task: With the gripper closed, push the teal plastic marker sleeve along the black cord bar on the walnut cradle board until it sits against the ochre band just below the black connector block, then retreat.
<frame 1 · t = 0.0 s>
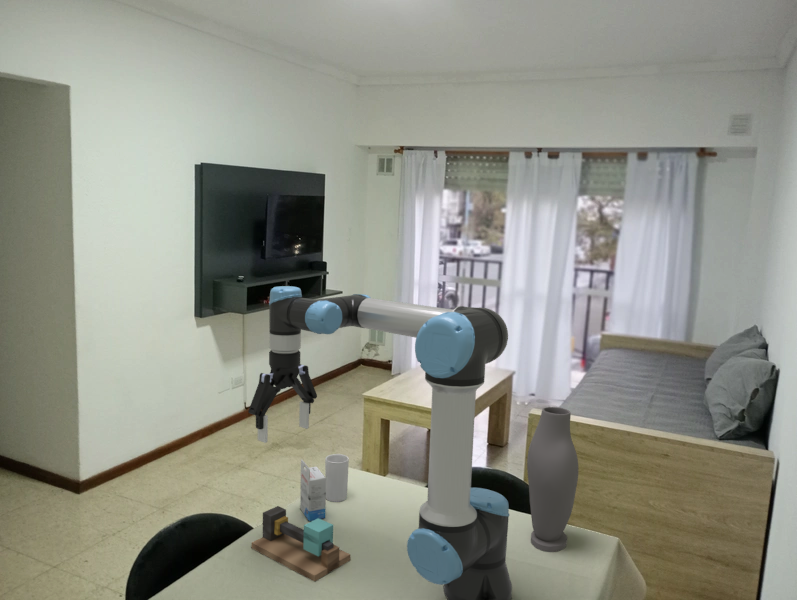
hand: (283, 434, 159), 28 cm above the table, fingers open, 13 cm apart
vase: (547, 541, 168), on the table
sleeve: (318, 536, 152), point 7 cm above the table, slide at 0.0 cm
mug: (337, 495, 190), on the table
ink box: (312, 514, 178), on the table
cradle board: (300, 554, 157), on the table
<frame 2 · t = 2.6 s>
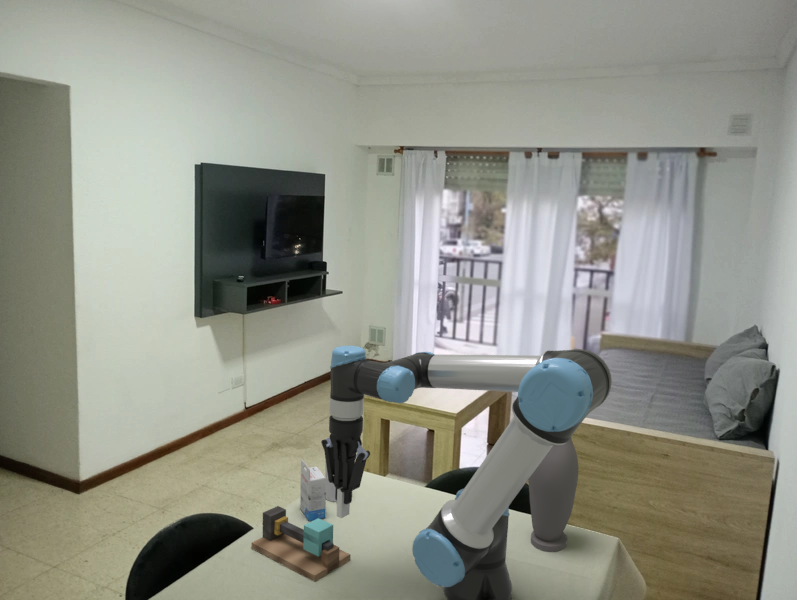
hand: (342, 515, 146), 15 cm above the table, fingers closed
nothing on the table moved.
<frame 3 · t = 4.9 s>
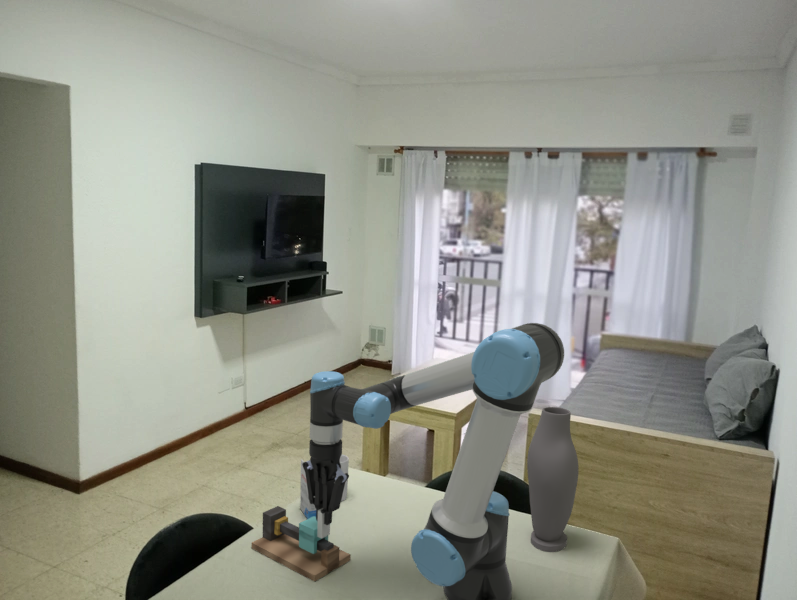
hand: (323, 535, 151), 8 cm above the table, fingers closed
sleeve: (313, 534, 153), point 7 cm above the table, slide at 1.6 cm, touching gripper
everything else where it was.
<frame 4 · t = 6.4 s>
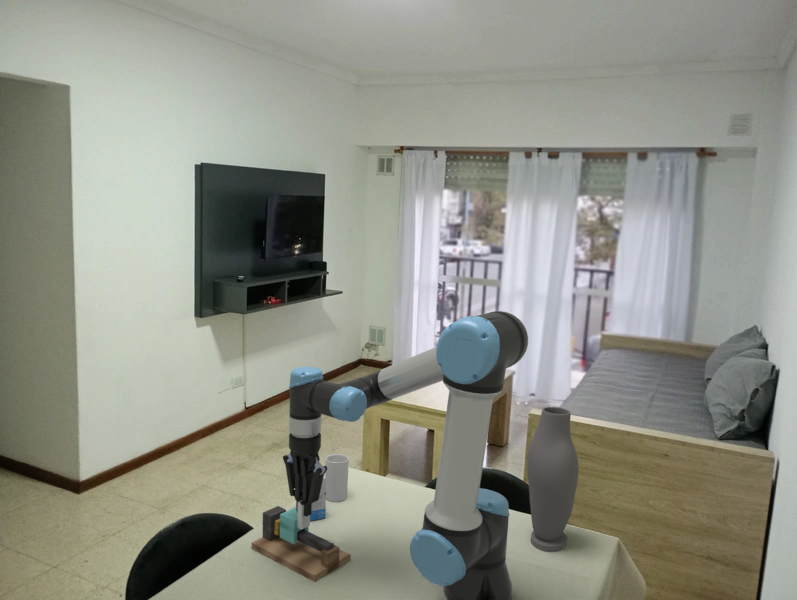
hand: (303, 526, 155), 7 cm above the table, fingers closed
sleeve: (294, 525, 157), point 7 cm above the table, slide at 8.3 cm, touching gripper
everything else where it was.
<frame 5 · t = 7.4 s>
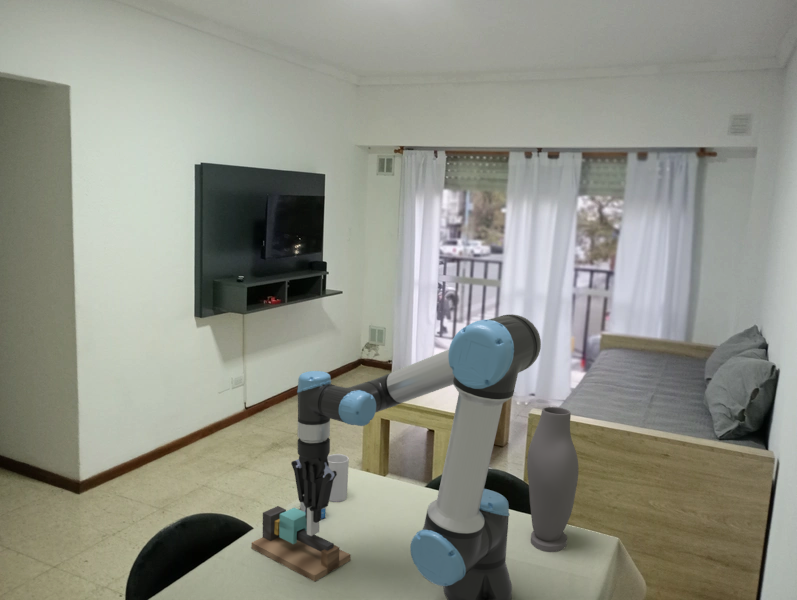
hand: (313, 533, 153), 7 cm above the table, fingers closed
sleeve: (293, 525, 157), point 7 cm above the table, slide at 8.4 cm
everything else where it was.
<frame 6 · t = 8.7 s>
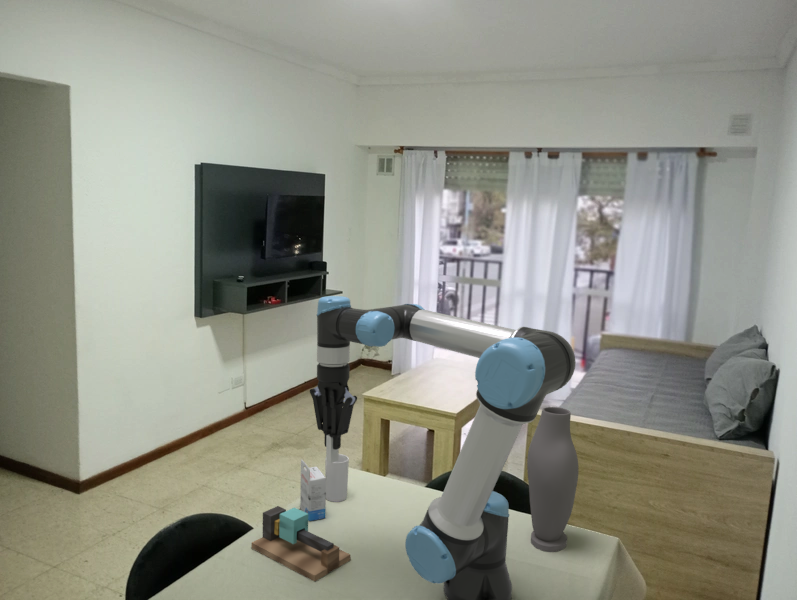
hand: (332, 460, 152), 25 cm above the table, fingers closed
nothing on the table moved.
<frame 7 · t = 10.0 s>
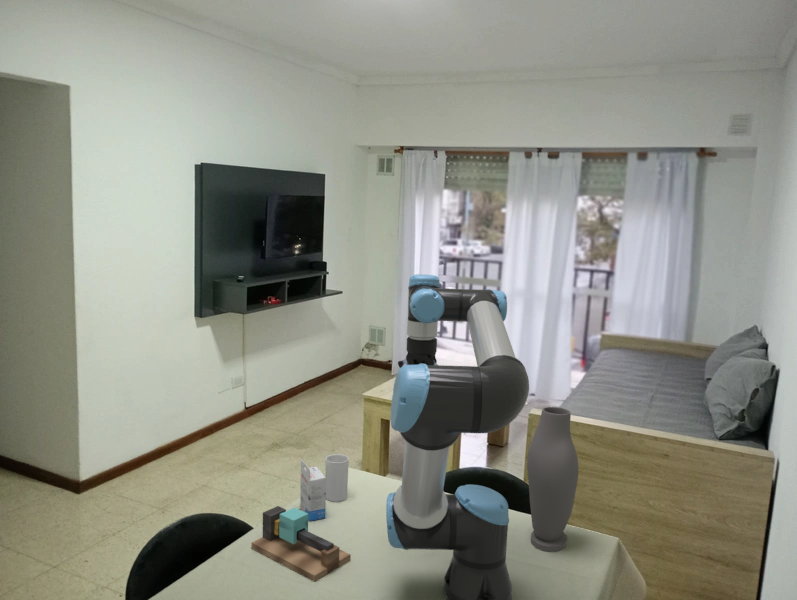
hand: (418, 428, 163), 29 cm above the table, fingers closed
nothing on the table moved.
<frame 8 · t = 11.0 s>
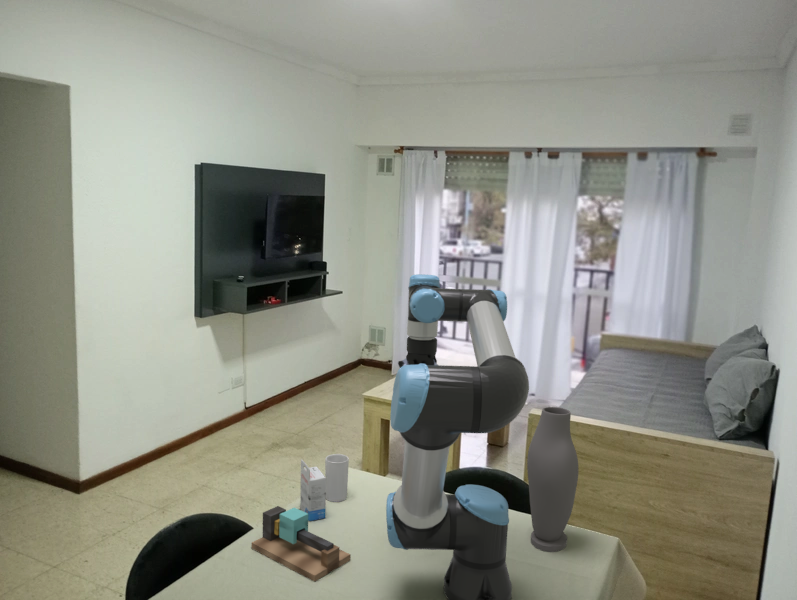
hand: (418, 428, 163), 29 cm above the table, fingers closed
nothing on the table moved.
at the end: sleeve slide at 8.4 cm; sleeve touching nothing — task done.
